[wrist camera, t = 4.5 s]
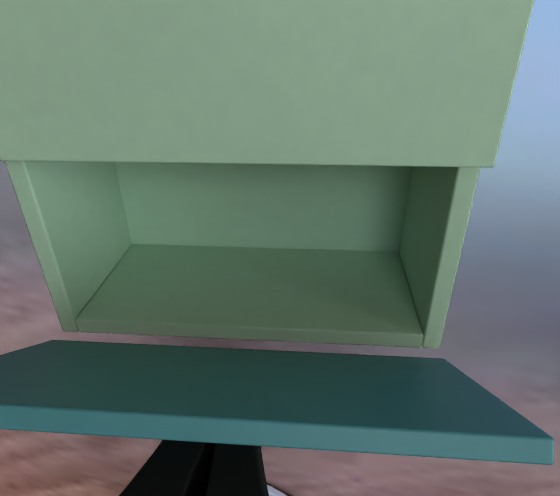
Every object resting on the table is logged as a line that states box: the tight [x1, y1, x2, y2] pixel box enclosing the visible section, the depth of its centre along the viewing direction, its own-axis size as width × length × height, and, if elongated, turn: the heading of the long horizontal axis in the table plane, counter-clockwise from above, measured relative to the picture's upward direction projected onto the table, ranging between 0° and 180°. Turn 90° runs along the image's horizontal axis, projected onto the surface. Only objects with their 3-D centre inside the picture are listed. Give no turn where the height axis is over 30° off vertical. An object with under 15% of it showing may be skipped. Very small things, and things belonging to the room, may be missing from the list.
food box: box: [0, 0, 534, 348], centre depth 12 cm, size 11×11×6 cm
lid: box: [0, 340, 554, 465], centre depth 9 cm, size 5×11×1 cm
